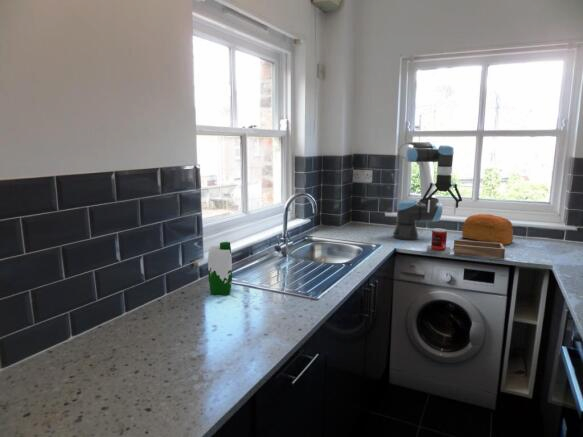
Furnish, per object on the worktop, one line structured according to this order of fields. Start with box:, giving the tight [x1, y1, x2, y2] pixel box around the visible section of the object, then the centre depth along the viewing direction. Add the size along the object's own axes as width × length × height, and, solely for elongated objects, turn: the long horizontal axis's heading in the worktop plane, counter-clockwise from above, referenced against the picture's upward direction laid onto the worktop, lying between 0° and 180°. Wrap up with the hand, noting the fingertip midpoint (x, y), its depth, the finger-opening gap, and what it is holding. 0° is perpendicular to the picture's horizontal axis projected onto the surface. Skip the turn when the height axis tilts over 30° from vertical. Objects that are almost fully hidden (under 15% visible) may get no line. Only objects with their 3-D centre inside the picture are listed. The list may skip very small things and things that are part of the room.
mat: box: [426, 244, 451, 255], centre depth 228 cm, size 14×12×1 cm
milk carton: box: [207, 241, 233, 296], centre depth 161 cm, size 9×9×20 cm
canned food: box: [430, 227, 448, 251], centre depth 227 cm, size 8×8×11 cm
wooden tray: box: [453, 239, 506, 259], centre depth 221 cm, size 13×24×5 cm, turn 69°
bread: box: [461, 213, 514, 246], centre depth 251 cm, size 16×27×16 cm, turn 41°
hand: (441, 212), depth 227 cm, fingers open, 13 cm apart
